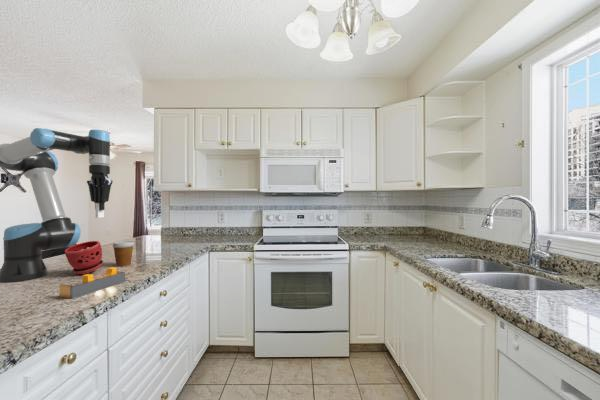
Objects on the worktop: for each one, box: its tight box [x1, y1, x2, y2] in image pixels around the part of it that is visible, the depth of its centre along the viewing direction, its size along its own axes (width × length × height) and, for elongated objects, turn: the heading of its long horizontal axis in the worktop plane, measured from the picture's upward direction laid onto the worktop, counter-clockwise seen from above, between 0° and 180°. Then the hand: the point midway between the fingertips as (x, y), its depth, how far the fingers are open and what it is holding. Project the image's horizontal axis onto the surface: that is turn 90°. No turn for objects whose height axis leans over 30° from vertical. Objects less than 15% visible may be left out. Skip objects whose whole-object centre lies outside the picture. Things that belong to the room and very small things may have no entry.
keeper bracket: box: [59, 271, 126, 299], centre depth 105 cm, size 7×20×4 cm, turn 162°
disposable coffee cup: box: [112, 240, 135, 268], centre depth 141 cm, size 10×10×12 cm
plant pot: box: [64, 240, 104, 275], centre depth 126 cm, size 13×13×12 cm
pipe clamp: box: [81, 266, 117, 284], centre depth 107 cm, size 12×4×6 cm, turn 167°
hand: (99, 217), depth 122 cm, fingers closed
